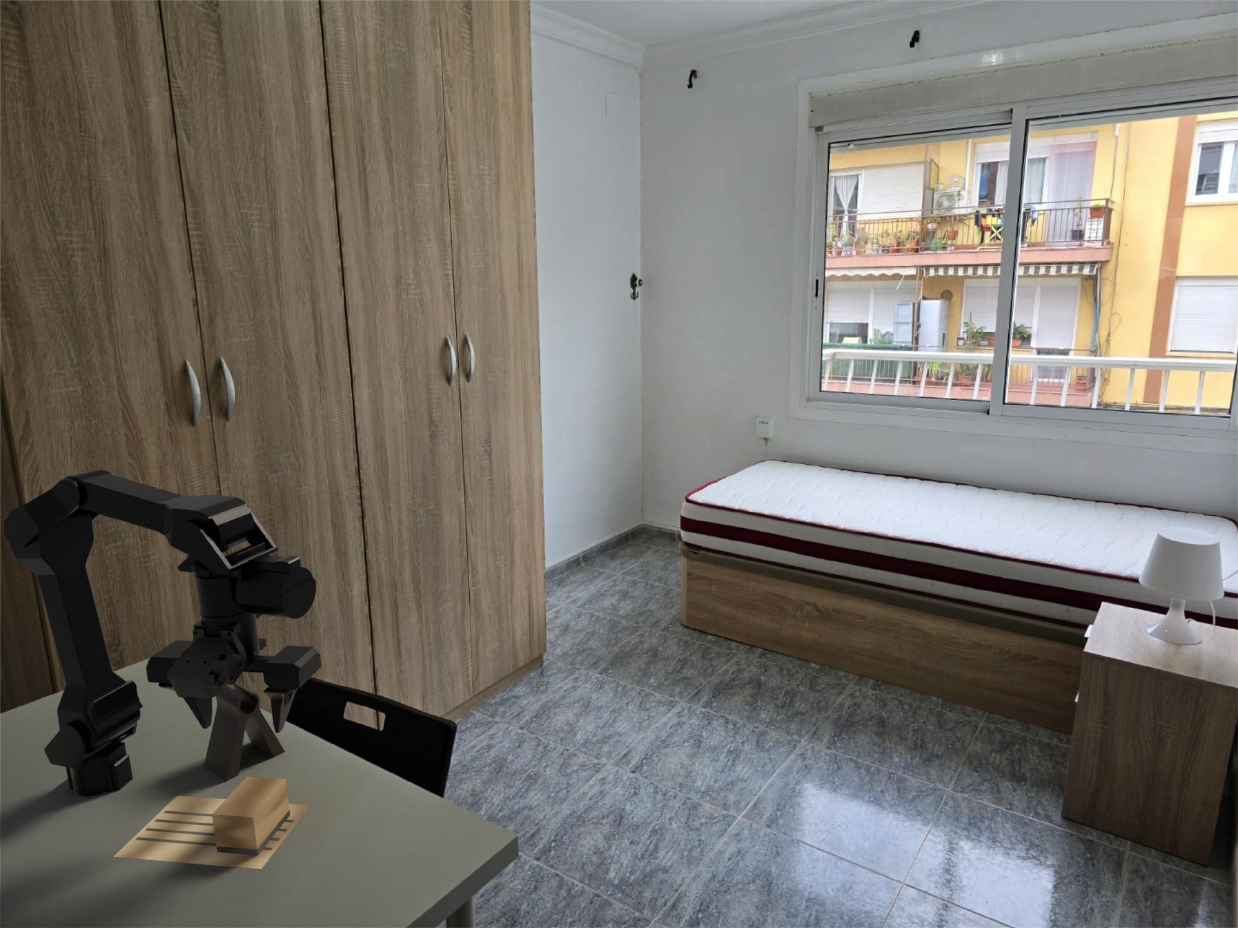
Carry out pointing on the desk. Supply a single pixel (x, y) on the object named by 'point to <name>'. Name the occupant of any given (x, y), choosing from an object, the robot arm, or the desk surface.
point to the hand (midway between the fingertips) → (243, 728)
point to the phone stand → (237, 731)
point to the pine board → (197, 836)
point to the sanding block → (251, 815)
